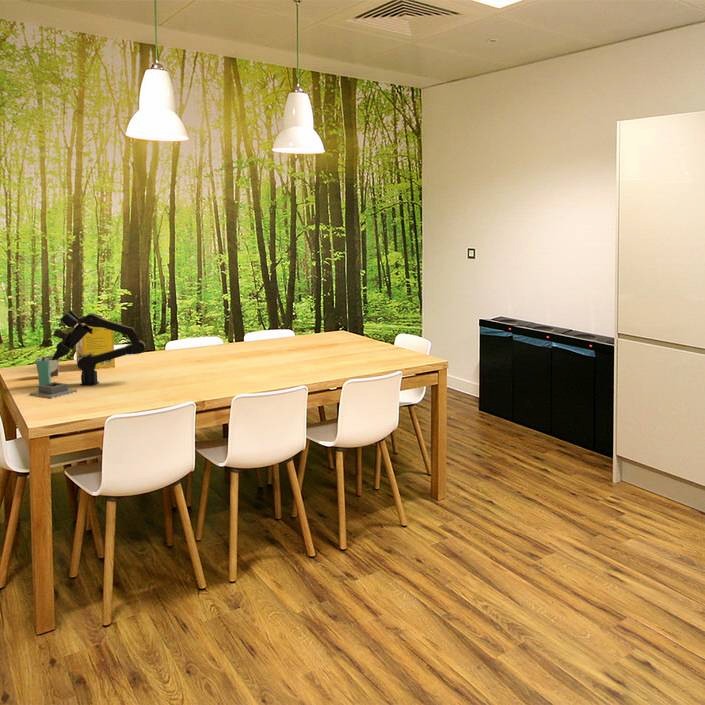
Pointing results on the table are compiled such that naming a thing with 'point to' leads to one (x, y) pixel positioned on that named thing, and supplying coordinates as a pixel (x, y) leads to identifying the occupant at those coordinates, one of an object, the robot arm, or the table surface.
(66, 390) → the socket
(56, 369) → the food container
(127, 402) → the table surface
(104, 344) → the packaging box
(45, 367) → the plug
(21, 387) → the table surface
